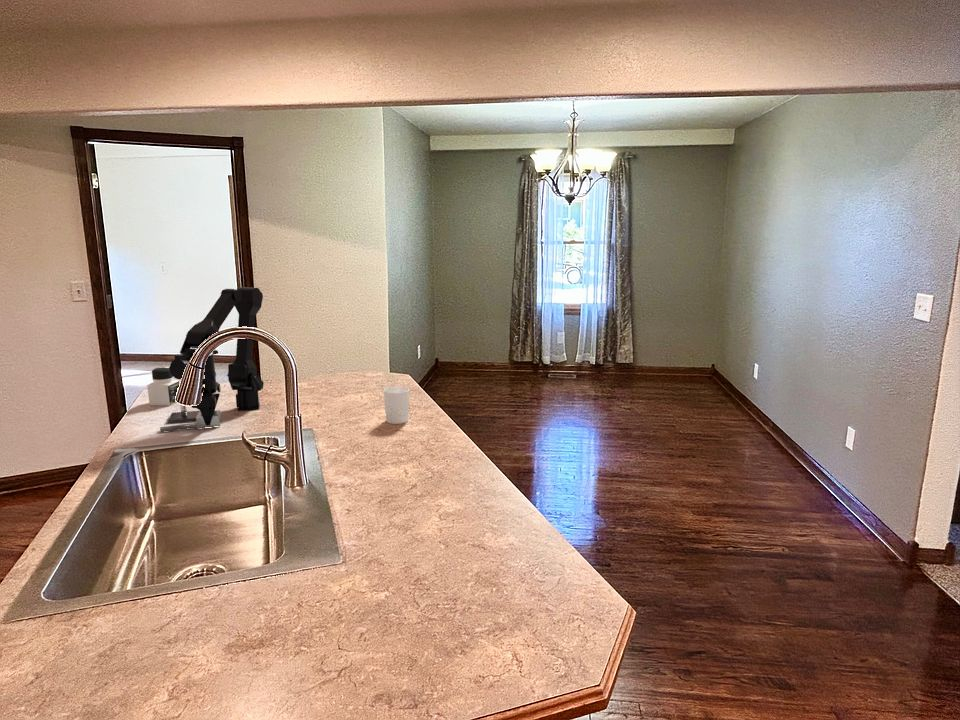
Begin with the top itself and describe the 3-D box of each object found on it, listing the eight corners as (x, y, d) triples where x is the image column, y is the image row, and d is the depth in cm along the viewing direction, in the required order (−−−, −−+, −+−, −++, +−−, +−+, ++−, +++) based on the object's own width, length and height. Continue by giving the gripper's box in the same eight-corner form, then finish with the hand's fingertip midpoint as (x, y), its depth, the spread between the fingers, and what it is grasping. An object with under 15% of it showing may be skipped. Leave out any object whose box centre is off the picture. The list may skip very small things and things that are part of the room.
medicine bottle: (170, 406, 200) (166, 370, 197) (149, 405, 200) (145, 370, 197) (181, 400, 207) (177, 365, 204) (160, 399, 207) (157, 365, 204)
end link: (221, 421, 184) (220, 410, 183) (219, 427, 178) (218, 415, 178) (199, 423, 182) (198, 411, 181) (197, 429, 177) (196, 417, 176)
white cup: (412, 417, 189) (411, 386, 187) (407, 425, 182) (406, 393, 180) (387, 416, 190) (387, 385, 188) (381, 424, 182) (380, 392, 180)
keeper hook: (200, 413, 192) (198, 398, 191) (197, 421, 184) (195, 405, 183) (172, 415, 189) (170, 400, 188) (168, 423, 182) (166, 407, 181)
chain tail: (194, 426, 179) (194, 422, 179) (194, 428, 178) (194, 424, 177) (160, 430, 176) (160, 426, 175) (160, 432, 174) (160, 428, 173)
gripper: (178, 366, 183) (183, 415, 186) (168, 380, 166) (174, 434, 169) (218, 363, 186) (222, 412, 190) (212, 378, 169) (217, 430, 172)
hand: (209, 422), depth 180 cm, fingers closed on end link, 6 cm apart
